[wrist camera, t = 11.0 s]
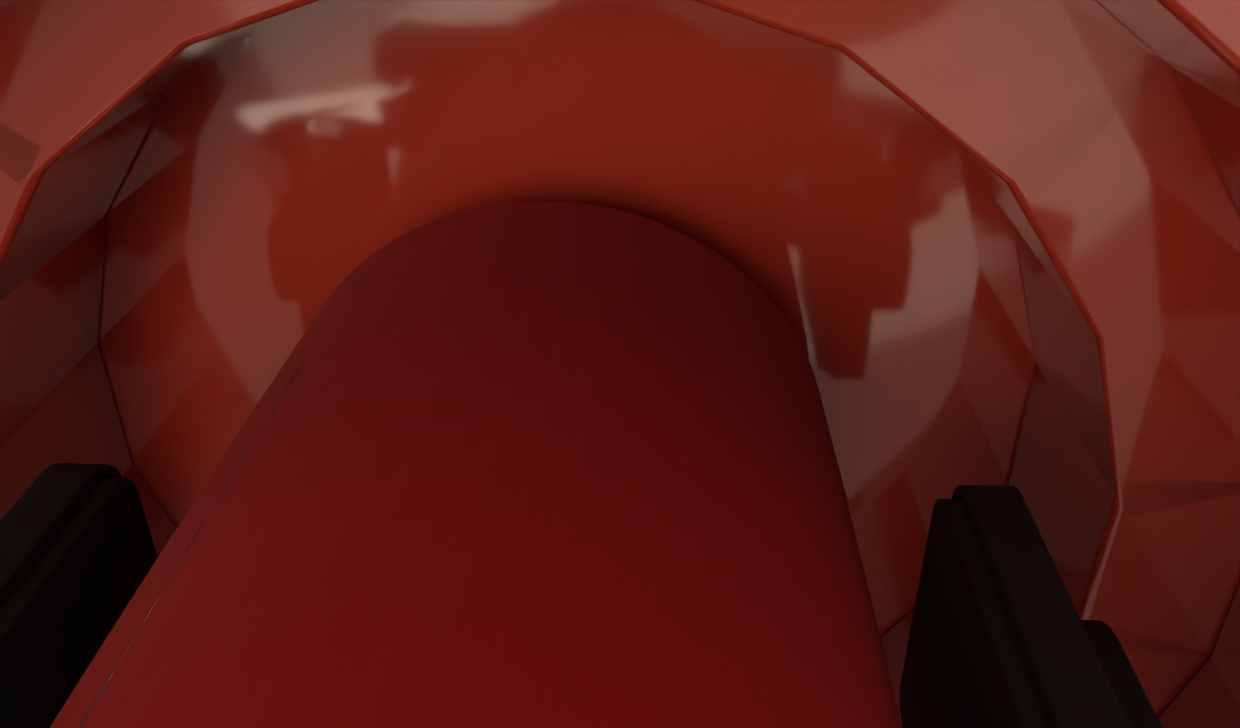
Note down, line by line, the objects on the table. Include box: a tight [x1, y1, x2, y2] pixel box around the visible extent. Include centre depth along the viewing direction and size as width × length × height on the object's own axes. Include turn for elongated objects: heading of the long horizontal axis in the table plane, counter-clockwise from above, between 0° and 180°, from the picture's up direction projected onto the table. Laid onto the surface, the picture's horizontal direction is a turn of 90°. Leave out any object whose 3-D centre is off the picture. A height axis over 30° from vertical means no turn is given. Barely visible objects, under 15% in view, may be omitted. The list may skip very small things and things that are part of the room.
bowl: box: [0, 0, 1240, 728], centre depth 12 cm, size 16×16×6 cm
